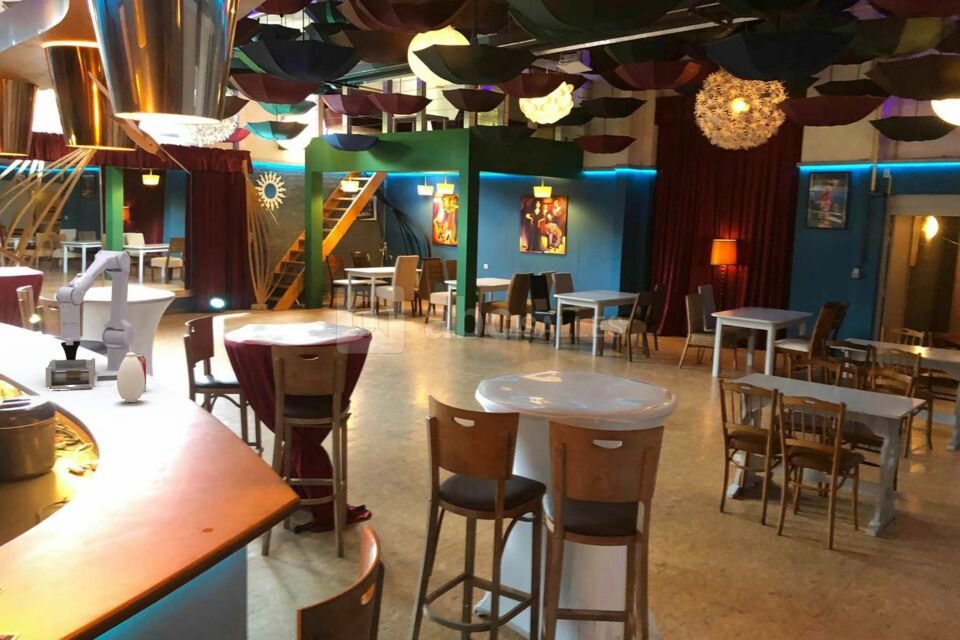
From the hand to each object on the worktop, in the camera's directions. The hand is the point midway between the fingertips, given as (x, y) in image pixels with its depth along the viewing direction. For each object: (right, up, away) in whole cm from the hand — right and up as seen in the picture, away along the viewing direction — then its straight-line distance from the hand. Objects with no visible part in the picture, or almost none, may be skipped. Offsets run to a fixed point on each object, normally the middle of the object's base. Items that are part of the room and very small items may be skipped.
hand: (71, 363), depth 260 cm
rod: (+4, -8, -8) cm, 12 cm away
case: (-3, -6, +6) cm, 9 cm away
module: (-6, -5, +13) cm, 15 cm away
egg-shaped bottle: (+29, -11, -20) cm, 37 cm away
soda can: (+24, -9, -5) cm, 26 cm away
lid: (-1, -1, +2) cm, 2 cm away
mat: (+9, -6, +10) cm, 15 cm away
